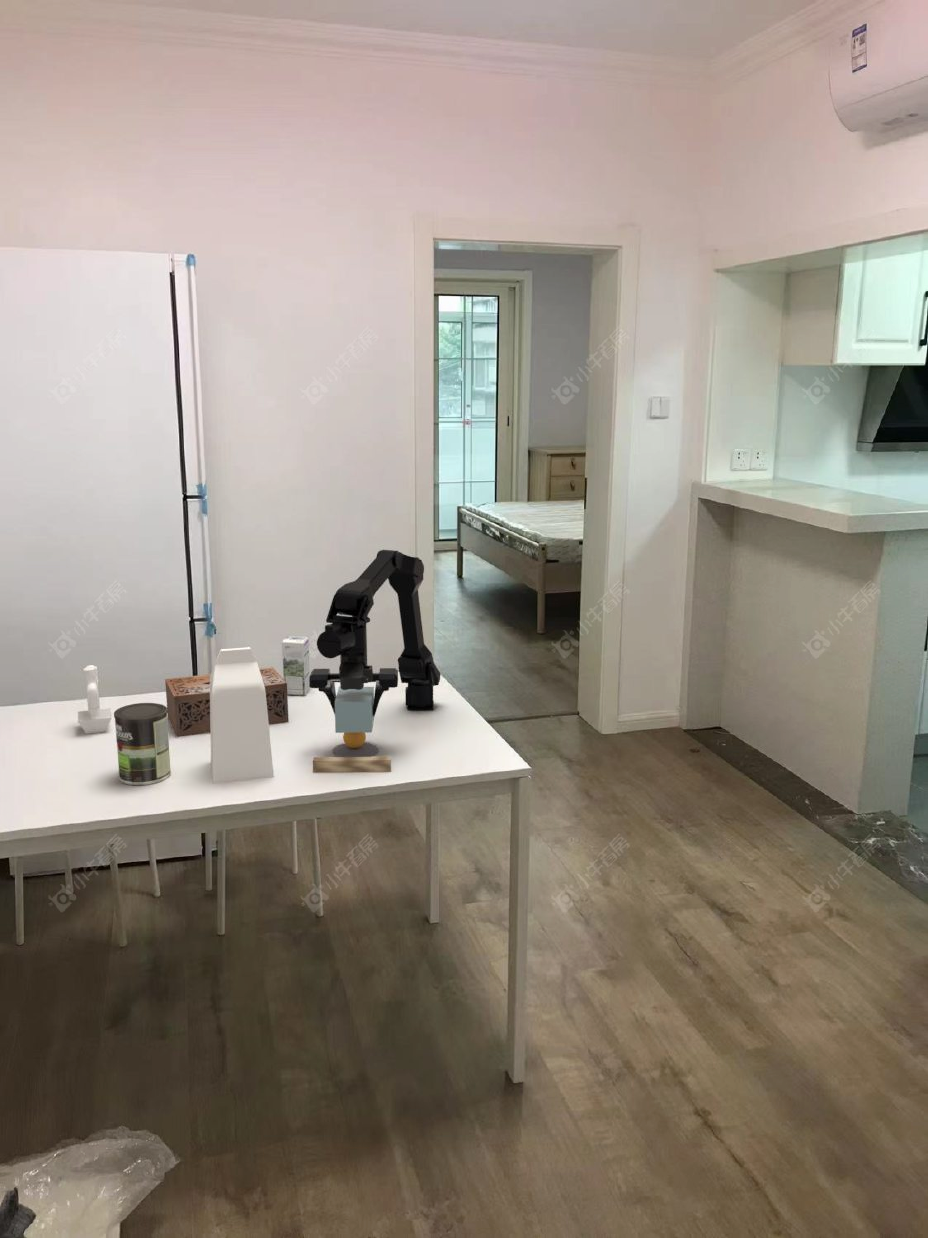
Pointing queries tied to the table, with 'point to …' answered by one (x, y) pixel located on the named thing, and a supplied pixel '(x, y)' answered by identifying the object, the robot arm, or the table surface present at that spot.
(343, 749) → the gray round object
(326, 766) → the tan wooden bar
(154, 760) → the coffee can
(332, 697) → the robot arm
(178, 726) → the tissue box cover
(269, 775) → the milk
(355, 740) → the ball
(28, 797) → the table surface
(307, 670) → the syrup box
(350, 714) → the light blue rectangular box
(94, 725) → the figurine
